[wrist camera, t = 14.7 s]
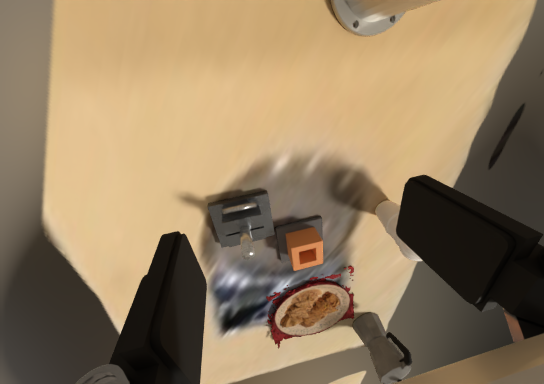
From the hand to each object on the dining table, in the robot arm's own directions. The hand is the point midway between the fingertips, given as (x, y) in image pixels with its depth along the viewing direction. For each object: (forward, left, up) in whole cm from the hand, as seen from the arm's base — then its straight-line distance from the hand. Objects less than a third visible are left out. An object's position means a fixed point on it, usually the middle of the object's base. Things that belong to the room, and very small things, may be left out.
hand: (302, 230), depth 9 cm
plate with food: (-8, +54, -29) cm, 62 cm away
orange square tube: (-7, +28, -28) cm, 40 cm away
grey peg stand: (+4, +19, -28) cm, 34 cm away
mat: (-7, +28, -28) cm, 40 cm away
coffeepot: (-27, +70, -28) cm, 80 cm away
